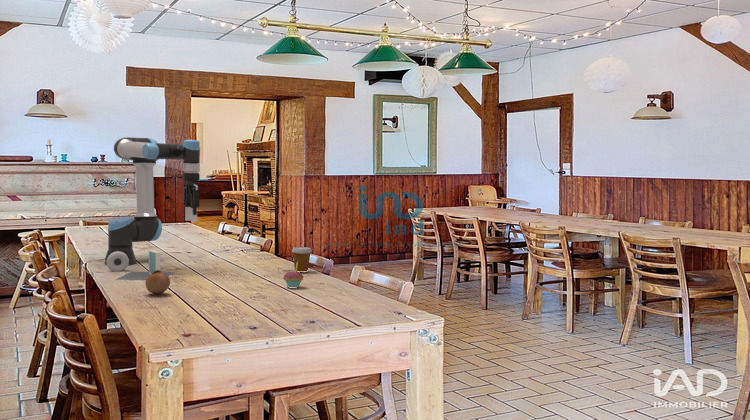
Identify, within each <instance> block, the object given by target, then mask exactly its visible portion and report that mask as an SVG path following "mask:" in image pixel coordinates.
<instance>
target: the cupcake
mask: <svg viewBox="0 0 750 420" xmlns="http://www.w3.org/2000/svg"><path fill="white" fill-rule="evenodd" d="M297 266H298V261H297V263H296V269H295V268H294V271H288V272H286V273H284V275H283V278H282V279H283V280H284V281H285V283H286V286H287V287H288V286H289V287H297V286H299V287H300V286H301V283H302V281H303V280H304V275H303V273H299V272H297Z"/></svg>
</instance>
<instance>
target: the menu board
mask: <svg viewBox="0 0 750 420" xmlns="http://www.w3.org/2000/svg"><path fill="white" fill-rule="evenodd" d="M156 270H160V271H161V251H157V250H154V249H149V250H148V272H149V274H152V273H153V272H154V271H156Z"/></svg>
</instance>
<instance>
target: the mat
mask: <svg viewBox="0 0 750 420" xmlns="http://www.w3.org/2000/svg"><path fill="white" fill-rule="evenodd" d="M162 272H163V273H165V274H166V275H168V277H169V276H171V275H173V274H175V272H172V271H171V272H169V271H168V272H167V271H166V272H164V271H162ZM149 275H150V274H149V271H130V272H128V273H126V274H124V275H122V276H120V277H117V278H115V280H118V281H121V280H122V281H123V280H124V281H125V280H126V281H127V280H128V281H146V279H147V277H148V276H149Z"/></svg>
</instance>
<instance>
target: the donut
mask: <svg viewBox="0 0 750 420" xmlns="http://www.w3.org/2000/svg"><path fill="white" fill-rule="evenodd" d="M117 258H119V259H121V264H120V265H115V264H114V260H115V259H117ZM106 263H107V265H106V266H107V268H108V269H109V270H110V271H111V272H123V271H125V270H127V268H128V266H129V265H128V264H129V259H128V257H127V255H126V254H125V253H123V252H119V251H117V252H113V253H111V254H110V255H109V256H108V258H107V262H106Z"/></svg>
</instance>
